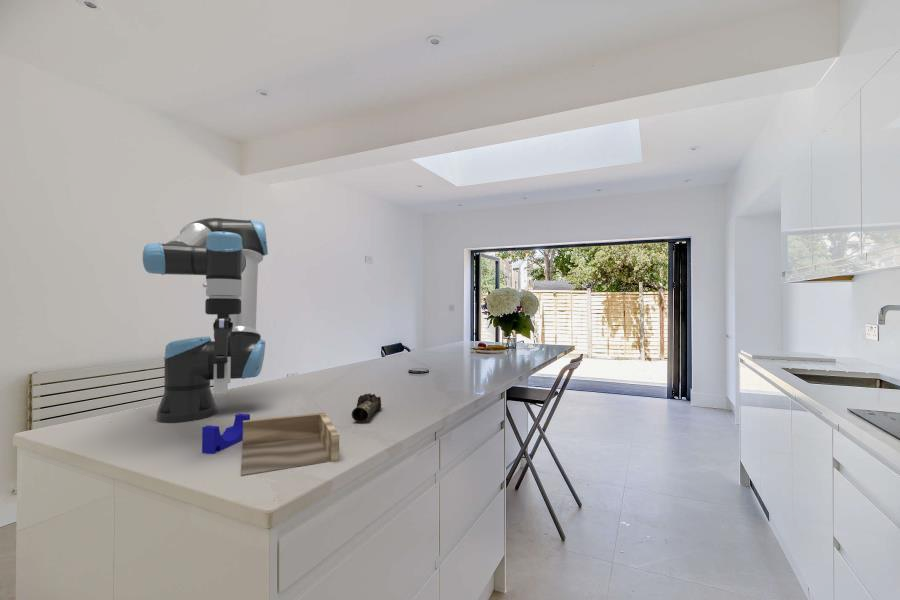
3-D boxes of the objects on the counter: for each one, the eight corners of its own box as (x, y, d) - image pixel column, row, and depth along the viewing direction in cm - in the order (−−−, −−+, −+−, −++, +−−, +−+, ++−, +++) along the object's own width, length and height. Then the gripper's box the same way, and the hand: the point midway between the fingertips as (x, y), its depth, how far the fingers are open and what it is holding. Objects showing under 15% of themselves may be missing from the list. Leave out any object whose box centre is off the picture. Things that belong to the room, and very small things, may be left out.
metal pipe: (368, 423, 116) (369, 403, 116) (344, 422, 116) (345, 401, 117) (383, 410, 133) (384, 392, 134) (362, 409, 134) (363, 391, 134)
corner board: (242, 446, 99) (243, 420, 99) (324, 436, 107) (324, 412, 107) (240, 477, 81) (241, 446, 81) (339, 463, 89) (339, 434, 89)
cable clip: (233, 437, 106) (234, 413, 106) (249, 438, 105) (250, 414, 105) (196, 453, 94) (196, 426, 94) (213, 455, 93) (214, 428, 93)
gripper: (210, 298, 110) (209, 380, 110) (199, 296, 87) (197, 399, 87) (242, 299, 113) (241, 378, 113) (240, 296, 91) (238, 396, 90)
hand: (222, 388), depth 100 cm, fingers open, 13 cm apart
